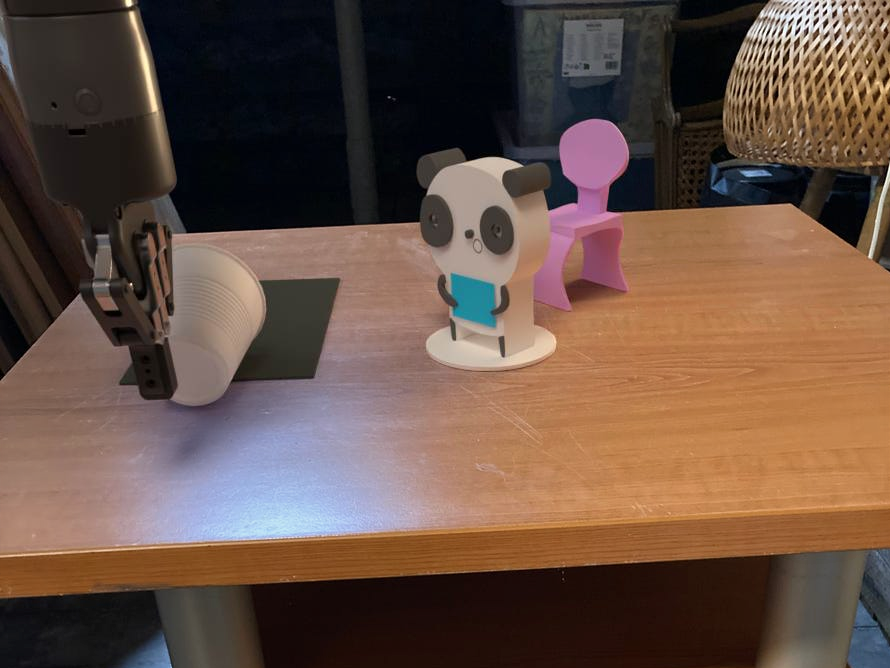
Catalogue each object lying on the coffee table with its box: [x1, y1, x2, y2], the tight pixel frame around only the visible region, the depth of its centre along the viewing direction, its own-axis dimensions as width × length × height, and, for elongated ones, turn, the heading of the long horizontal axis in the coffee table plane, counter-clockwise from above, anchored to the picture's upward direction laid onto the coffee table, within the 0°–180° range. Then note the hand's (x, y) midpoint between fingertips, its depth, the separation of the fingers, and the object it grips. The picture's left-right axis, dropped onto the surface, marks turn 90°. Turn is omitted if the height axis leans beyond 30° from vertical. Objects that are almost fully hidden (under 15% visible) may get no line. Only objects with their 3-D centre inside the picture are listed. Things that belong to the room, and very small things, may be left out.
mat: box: [118, 277, 341, 386], centre depth 92 cm, size 26×16×1 cm, turn 2°
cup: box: [165, 242, 266, 407], centre depth 78 cm, size 10×10×11 cm
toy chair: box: [534, 118, 630, 312], centre depth 93 cm, size 8×9×15 cm
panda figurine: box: [416, 147, 557, 372], centre depth 82 cm, size 12×11×15 cm
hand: (160, 395), depth 66 cm, fingers closed
